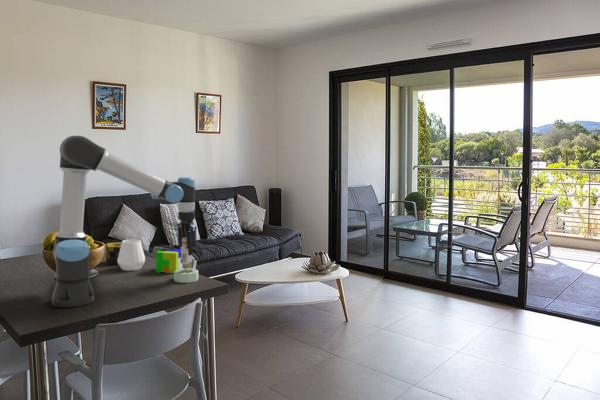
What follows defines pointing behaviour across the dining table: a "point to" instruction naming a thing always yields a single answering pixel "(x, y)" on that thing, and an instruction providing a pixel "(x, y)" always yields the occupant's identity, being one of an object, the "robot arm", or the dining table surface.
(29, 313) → the dining table surface
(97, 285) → the dining table surface
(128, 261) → the cup
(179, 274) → the bead
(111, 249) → the candle
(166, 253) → the puzzle toy
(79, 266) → the robot arm
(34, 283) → the dining table surface
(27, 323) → the dining table surface
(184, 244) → the striped rounded cylinder
